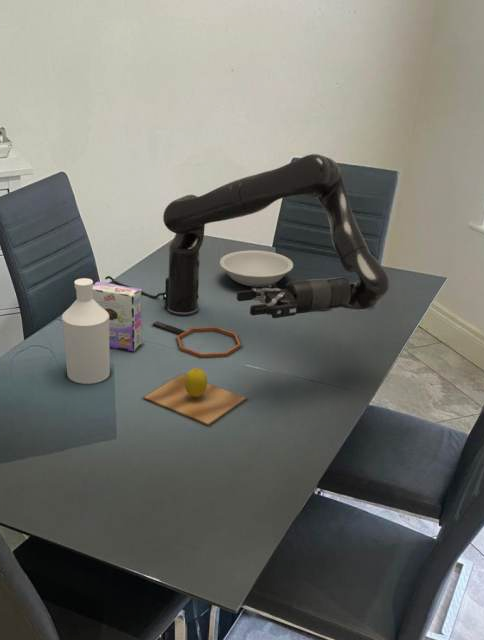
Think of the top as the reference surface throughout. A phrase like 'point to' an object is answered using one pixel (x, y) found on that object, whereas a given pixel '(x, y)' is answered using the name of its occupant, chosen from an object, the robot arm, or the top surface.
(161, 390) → the wooden cutting board
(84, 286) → the bottle
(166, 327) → the magnifying glass
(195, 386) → the lemon
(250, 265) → the soup bowl
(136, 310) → the candy box
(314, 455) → the top surface
